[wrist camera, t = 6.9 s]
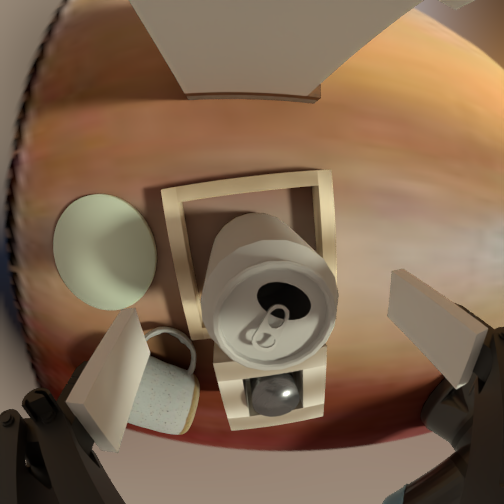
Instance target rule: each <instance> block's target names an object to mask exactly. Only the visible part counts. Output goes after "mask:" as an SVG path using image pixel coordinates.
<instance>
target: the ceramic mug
mask: <svg viewBox="0 0 504 504" xmlns="http://www.w3.org/2000/svg"><path fill="white" fill-rule="evenodd" d="M161 333H168V334H170V335H172V336H174V337H176V338H178V339H179V340H180V342H181V343H183V344H185V345H186V346H187V347H188V348H189V349H190V351H191V363H190V366H189V369H188V370H185V369H182V368H180V367H177V366H174V365H171V364H168V363H166V362H163V361H161V360H159V359H157V358H154V357H152V356H150V355H149V358H148V361H147V364H146V367H145V369H144V372H143V375H142V378H141V381H140V384H139V387H138V390H137V393H136V396H135V399H134V402H133V405H132V409H131V412H130V415H129V418H128V421H127V422H128V423H131V424H134V425H137V426H140V427H144V428H148V429H151V430H155V431H159V432H163V433H168V434H178V435H179V434H184V433H186V432H187V431H188V429H189V428H190V426H191V424H192V421H193V419H194V416H195V412H196V409H197V405H198V400H199V392H200V384H199V380H198V378H197V377H196V376H195V375H194V374H193V372H194V369H195V366H196V351H195V348H194V345H193V343H192V342H191V340H190V339H189V338H188V337H187V336H186V335H185V334H184V333H183V332H181V331H179V330H177V329H175V328H171V327H157V328H155V329H153V330H151V331H149V332H148V333H147V334H145V336H144V337H145V339H146V341H147V340H148V339H149V338H151V337H153V336H155V335H159V334H161Z"/></svg>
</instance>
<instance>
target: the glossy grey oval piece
mask: <svg viewBox="0 0 504 504" xmlns="http://www.w3.org/2000/svg"><path fill="white" fill-rule="evenodd" d="M250 387H251V396H252V405H253V408H254V410H255V411H256V412H257V413H259V414H261V415H263V416H268V417H276V416H281V415H284V414H287V413H289V412H291V411H292V410H293V409H295V408H296V406H297V405H298V403H299V400H300V396H299V393H298V390H297V387H296V383H295V380H294V377H293V374H292V372H288V373H282V374H276V375H269V376H262V377H255V378H250Z"/></svg>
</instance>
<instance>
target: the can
mask: <svg viewBox="0 0 504 504" xmlns="http://www.w3.org/2000/svg"><path fill="white" fill-rule="evenodd" d="M338 296H339V295H338V290H337V285H336V280H335V276H334V274H333V273H332V271H331V270H330V268H329V266H328V265H327V263H326V262H325V260H324V259H323V258H322V257H321V256H320V255H319V254H318V253H317V252H316V251H315V250H314V249H312V248H311V247H310V246H309V245H308V244H307V243H306V242H305V241H304V240H303V239H302V238H301V237H300V236H299V235H298V234H296V233H295V232H294V231H293V230H292V229H291V228H290V227H289V226H288V225H286V224H285V223H284V222H282V221H281V220H280V219H278V218H277V217H274V216H271V215H268V214H265V213H248V214H245V215H242V216H239V217H236V218H234V219H233V220H231V221H230V222H229V223H227V224H226V225H224V226H223V228H222V229H221V230H220V232H219V233H218V235H217V236H216V237H215V240H214V244H213V247H212V250H211V255H210V259H209V264H208V268H207V273H206V277H205V282H204V287H203V291H202V296H201V311H202V320H203V323H204V325H205V327H206V329H207V331H208V333H209V335H210V337H211V338H212V339H213V340H214V341H215V342H216V343H217V344H218V346H219V348H220V349H221V350H222V351H223V352H224V353H225V354H226V355H227V356H228V357H229V358H230V359H232V360H233V361H235V362H237V363H239V364H241V365H243V366H245V367H248V368H253V369H258V370H263V371H267V370H282V369H285V368H288V367H291V366H295V365H298V364H300V363H302V362H303V361H305V360H306V359H308V358H310V357H311V356H313V355H314V354H315V353H316V352H317V351H318V350H319V349H320V348H321V347H322V346H323V345H324V344H325V343H326V342H327V340H328V338H329V336H330V334H331V332H332V330H333V328H334V325H335V319H336V312H337V303H338Z"/></svg>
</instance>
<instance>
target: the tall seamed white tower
mask: <svg viewBox="0 0 504 504" xmlns="http://www.w3.org/2000/svg"><path fill="white" fill-rule="evenodd" d="M422 1H424V0H129V2H130V3H131V5H132V7H133V8H134V10H135V11H136V13H137V15H138V16H139V18H140V20H141V21H142V23H143V24H144V26H145V28H146V29H147V31H148V33H149V34H150V36H151V38H152V39H153V41H154V43H155V44H156V46H157V48H158V49H159V51H160V53H161V54H162V56H163V58H164V59H165V61H166V63H167V64H168V66H169V68H170V70H171V71H172V73H173V75H174V76H175V78H176V80H177V81H178V83H179V85H180V87H181V88H182V90H183V92H184V93H185V95H186V97H187V99H188V100H197V99H264V100H281V101H294V102H305V103H315V102H316V101H318V100H319V99H320V98H321V83H322V82H323V81H324V80H325V79H326V78H327V77H328V76H330V75H331V74H332V73H333V72H334V71H335V70H336V69H337V68H339V67H340V66H341V65H342V64H343V63H344V62H345V61H347V60H348V59H349V58H350V57H351V56H352V55H354V54H355V53H356V52H357V51H358V50H360V49H361V48H362V47H363V46H364V45H366V44H367V43H368V42H369V41H371V40H372V39H373V38H374V37H376V36H377V35H378V34H379V33H381V32H382V31H383V30H384V29H386V28H387V27H388V26H390V25H391V24H392V23H393V22H395V21H396V20H397V19H399V18H400V17H401V16H403V15H404V14H405V13H407V12H408V11H410V10H411V9H412V8H414V7H415V6H417V5H418V4H419V3H421V2H422ZM438 1H440V2H442V3H444V4H445V5H448V6H449V7H451V8H453V9H454V10H457V9H459V8H461V7H463V6H465V5H467V4H469V3H471V2H473V1H475V0H438Z"/></svg>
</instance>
